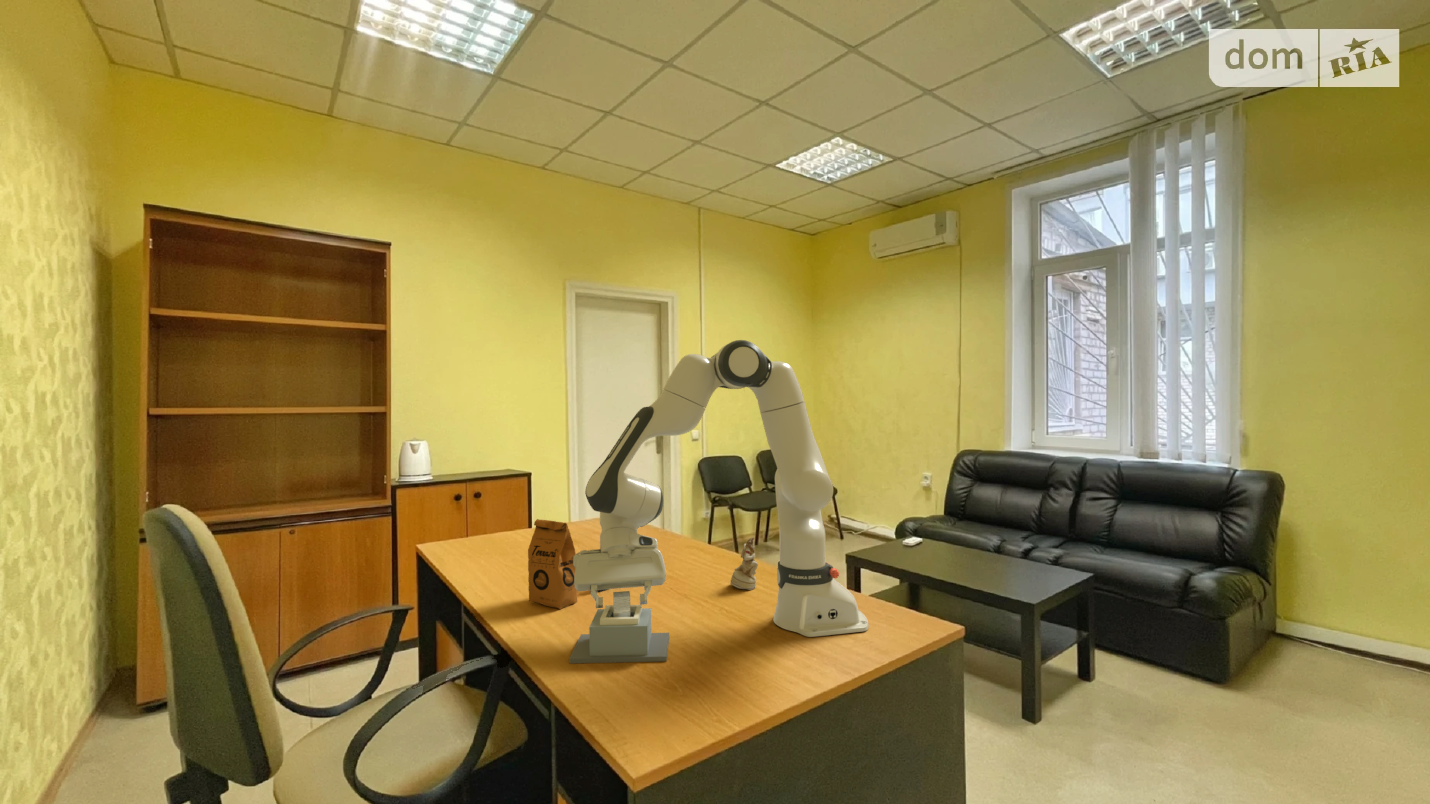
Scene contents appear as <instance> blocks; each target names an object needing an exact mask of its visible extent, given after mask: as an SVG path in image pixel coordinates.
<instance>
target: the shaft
mask: <svg viewBox="0 0 1430 804" xmlns="http://www.w3.org/2000/svg"><path fill="white" fill-rule="evenodd" d="M612 593H613V596H612V597H613V598H612V599H613V600H612V601H613V603H612V605H613V617H630V605H631V593H630V591H629V590H624V591H613V592H612Z"/></svg>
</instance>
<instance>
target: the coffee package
mask: <svg viewBox="0 0 1430 804" xmlns="http://www.w3.org/2000/svg"><path fill="white" fill-rule="evenodd" d="M533 525H534V526H535V529H534V531H533V534H532V537H531V540H530V544H529V546H528V549H527V558H528V562H527V564H528V566H527V567H528V568H527V569H528V578H527V579H528V602H532V603H537V604H542V606H543V605H544V606H546V607H550V608H555V609H559V610H562V609H563V608H567V607H569V606H570V605H573V604H576V603H578V591H577V590H576V588H575V587H574V577H575V569H576V568H575V567H574V565H573V558H574V556H575V554H577V553H576V549H575V544H574V541H573V538H572V536H571V532H570V529H569V526H568V523H567V522H561V521H556V520H550V519H549V520H547V519H538V518H537V519H536V520H535V521H534V522H533Z"/></svg>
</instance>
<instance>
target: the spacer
mask: <svg viewBox="0 0 1430 804" xmlns="http://www.w3.org/2000/svg"><path fill="white" fill-rule="evenodd" d="M642 608H643V605H640V604H630V612H635V615H634V617H608V616H609V613H610V612H613V604H612V605H609V604H608V605H605V607H604V608H603V609H604V611H603V613H602V616H601V618H600V625H627V624H638V623H639V619H640V616H641V612H642Z"/></svg>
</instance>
